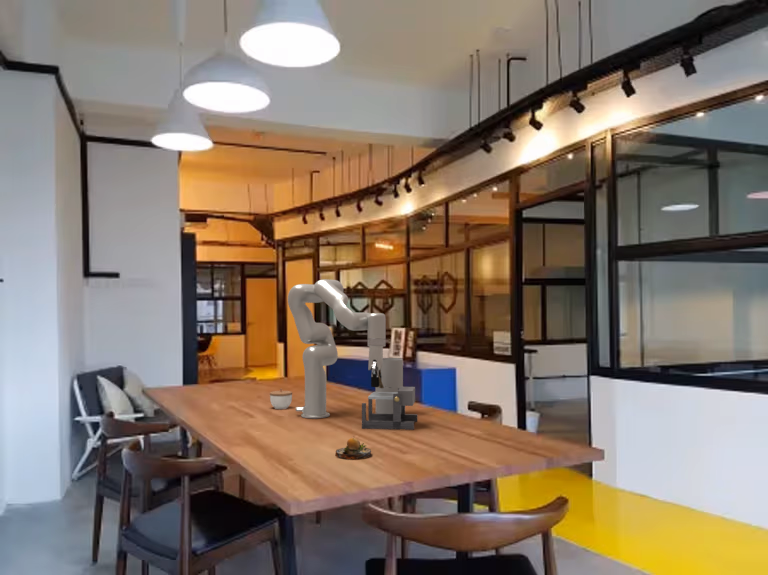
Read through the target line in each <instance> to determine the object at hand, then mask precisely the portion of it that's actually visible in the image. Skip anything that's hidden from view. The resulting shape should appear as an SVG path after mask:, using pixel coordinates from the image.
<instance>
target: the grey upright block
mask: <svg viewBox="0 0 768 575" xmlns="http://www.w3.org/2000/svg"><path fill="white" fill-rule="evenodd" d="M403 362H404V359H403V358H397V357H383V367H382V369H381V381H382V384H383V387H384V388H379V387H374V388H375V392H398V388H400V387H404V381H403V380H404V369H403V368H404V363H403ZM385 386H387V387H385ZM389 387H391V388H389ZM375 413H378V414H393V400H390V399H375Z"/></svg>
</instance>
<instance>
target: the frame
mask: <svg viewBox="0 0 768 575" xmlns="http://www.w3.org/2000/svg"><path fill="white" fill-rule="evenodd" d="M399 389H400V388H398V390H399ZM367 399H368V398H367ZM367 402H368V405H367V403H366V402H362V403H361V429H364V430H366V429H367V430H368V429H371V430H400V429H405V430H406V431H407V430H409V431H410V430H411V431H414V430H415V423H418V421H419V420H418V419H419V418H418V414H417V413H416V414H415V413H406V406H401V394H393V414H378V413H376V412H375V413H374V412H373V399H368V400H367ZM367 408H368V410H367ZM367 411H368V412H367ZM367 413H368V414H367ZM367 416H368V417H367ZM367 418H368V420H367Z"/></svg>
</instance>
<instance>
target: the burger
mask: <svg viewBox="0 0 768 575" xmlns="http://www.w3.org/2000/svg"><path fill="white" fill-rule="evenodd" d="M346 444H347V445H346V446H345V447H341V448H338V449H336V450H335V457H336V458H337V459H340V458H344V459H345V460H362V459H367V458H370V457H371V456H372V453H371V452H372V450H371V449H370V448H369V447H366V445H365V443H363V442H362V444H361V441H360V440H359V438H355V437H351V438H349V439H347V442H346Z"/></svg>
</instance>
